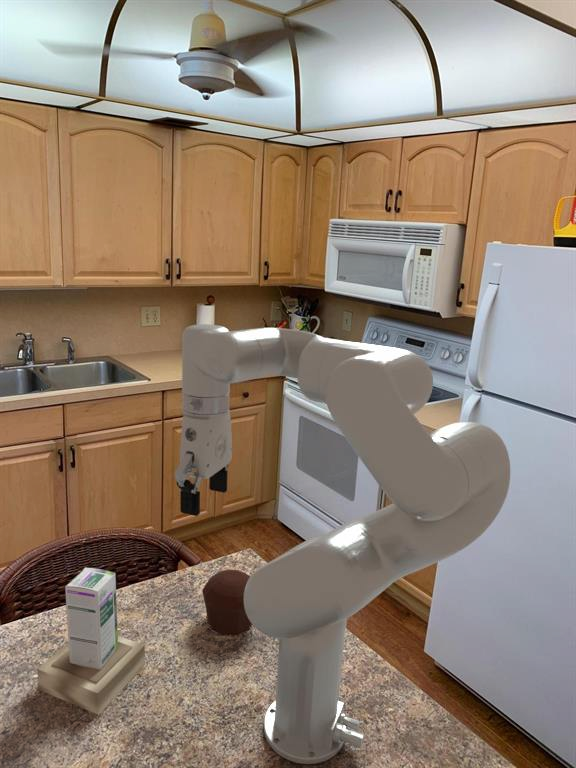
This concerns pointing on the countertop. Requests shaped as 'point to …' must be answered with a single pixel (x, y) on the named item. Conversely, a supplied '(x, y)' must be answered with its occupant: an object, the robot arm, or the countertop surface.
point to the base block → (91, 676)
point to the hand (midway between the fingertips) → (204, 501)
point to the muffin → (227, 602)
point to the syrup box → (92, 617)
